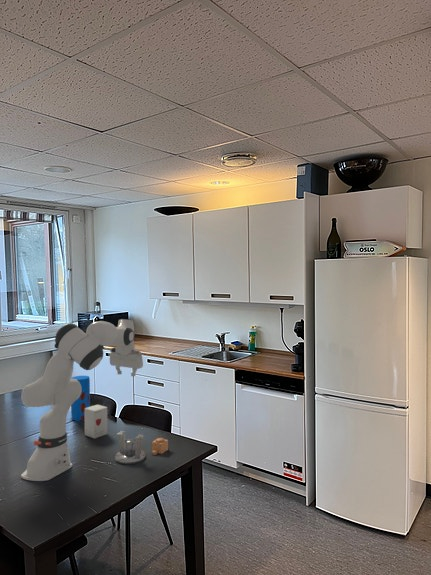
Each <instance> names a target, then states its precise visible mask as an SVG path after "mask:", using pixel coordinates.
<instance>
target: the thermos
mask: <svg viewBox="0 0 431 575" xmlns="http://www.w3.org/2000/svg"><path fill="white" fill-rule="evenodd" d="M71 379H77V380H78V381H79V383H80V384H81V388H82V391H81V395H80V397H79V398H78V399H77V400H76V401H75V402H74V403H73V404H72V405H71V407H70V409H71V420H72V421H73V420H75V421H74V422H81V421H80V420H84V421H85V408H87V407H91V392H90V391H91V390H90V388H91V387H90V386H91V383H90V376H89V375H75V376H73V377H72V376H71Z"/></svg>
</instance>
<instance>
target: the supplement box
mask: <svg viewBox="0 0 431 575" xmlns="http://www.w3.org/2000/svg"><path fill="white" fill-rule="evenodd" d="M105 435H108V406H104V405H101V404H95V405H90V407H87V408H85V420H84V436H87V437H89V438H92V439H94V440H95V439H98V438H100V437H104V436H105Z"/></svg>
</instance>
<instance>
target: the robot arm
mask: <svg viewBox="0 0 431 575" xmlns="http://www.w3.org/2000/svg"><path fill="white" fill-rule="evenodd" d="M117 323H118V324H117V326H115V325H114V324H113V323H111V322H108V321H104V320H99V321H93V322H91V323H90V324H89V325H88V326H87V328H86V331H85V332H84V331H83V330H82V329H81V328H80V327H79V326H78V325H76V324H75V323H73V322H69V323H65V324H64V325H62V326H61V327H60V328H59V329H58V330H57V331H56V333H55V337H54V342H55V343H54V348H55V349H57V352H55V353H54V354H53V355H52V356H51V357H50V359H49V360H48V362H47V364H46V366H45V370H44V371H43V372H44V373H43V375H42V376H41V377H39V378H38V379H37V380H35V381H34V382H31V383H29V384H27V385H25V386H24V387H23V389H22V391H21V394H20V397H21V401H22V403H23V405H24V406H25V407H27V408H40V407H41V408H42V407H48V406H52V408H51V409H50V410H49V411H47V412H46V413H44V414H43V415H42V416H41V418H40V419H39V436H38V440H36V439H35V440H34V441H33V445H34V446H36V447H35V449H34V451H33V453H32V455H31V456H30V458H29V459H28V461H27V463H26V465H27V466H26V469H25V471H23V472H22V473H21V475H20V478H21V479H23V480H26V481H32V482H44V481H50V480H51V479H53V478H55V477H57V476H59V475H60V474H62V473H64V472H66V471H67V470H69V469H71V468H72V467H73V463H72V462H71V456H70V448H69V446H68V443H67V441H68V435H67V434H68V433H67V432H66V431H67V425H66V424H67V415H68V413H69V410H70V409H71V405H72V404H73V403H74V402H75V401H76V400H77V399H78V398H79V397H80V395H81V391H82V388H81V384H80V383H79V381H78V380H77V379H71V378H72V375H73V372H74V366H75V365H74V362H75V363H76V364H78V365H79V367H80V368H82V369H83V370H85V371H90V370H93V369H94V368H96V367H97V366H98V365H99V364H100V363H101V361H102V360H103V357H104V349H105V348H104V347H111V348H110V349H109V352H110V354H109V364H110V365H111V366H114V367H115V370H116V372H117V373H116V375H122V370H121V367H122V368H130V369H132V372H131V373H130V374H131V377H136V373H137V371H138V370H139V369H142V368H143V367H144V360H143V354H142V352H141V351H140V350H137V349H135V348H136V347H135V345H136V344H135V326H134V321H133V320H132V319H129V318H128V319H127V318H126V319H125V318H121V319H118V322H117Z"/></svg>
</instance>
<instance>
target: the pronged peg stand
mask: <svg viewBox="0 0 431 575" xmlns="http://www.w3.org/2000/svg"><path fill="white" fill-rule="evenodd" d="M116 437H117V438H119V451H118V452H117V453H116V454H115V455H114V460H115V462H116V463H118V464H120V465H121V464H122V465H133V464H137V463H141V462H143V460H145V458H146V452H145V451H144V450H143V449H142V439H143V438H144V434H140V433H139V434H138V435H136V437H134V438H128V439H126V431H125V430H120V431H119V432H117V433H116Z"/></svg>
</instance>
